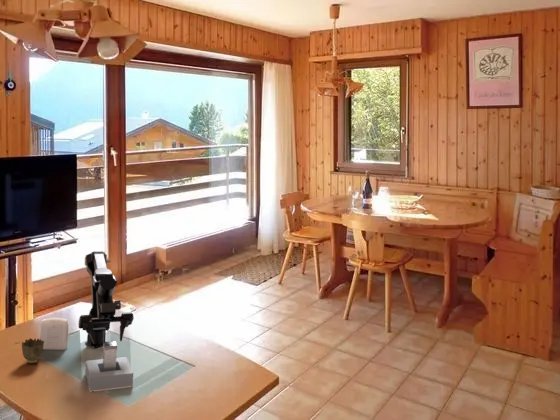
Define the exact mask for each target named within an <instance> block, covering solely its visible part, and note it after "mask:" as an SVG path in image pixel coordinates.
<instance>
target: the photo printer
mask: <svg viewBox="0 0 560 420" xmlns="http://www.w3.org/2000/svg"><path fill="white" fill-rule="evenodd" d="M39 331H40V333H39V339H41V340H42V341H44V345H43V350H56V351H57V350H67V349H68V343H69V320H68V319H65V318H63V317H62V318H61V317H48V318H44V319H42V320H41V323H40V330H39Z"/></svg>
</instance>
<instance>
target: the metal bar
mask: <svg viewBox="0 0 560 420" xmlns="http://www.w3.org/2000/svg"><path fill="white" fill-rule="evenodd" d="M117 344H118V343H117V341H116V340H114V341H106V342H103V345H102V346H103V347H102V349H103V350H102V359H103V365H102V372H106V371H116V358H117V351H118V345H117Z"/></svg>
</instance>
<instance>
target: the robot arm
mask: <svg viewBox="0 0 560 420" xmlns="http://www.w3.org/2000/svg"><path fill="white" fill-rule="evenodd" d="M107 257H108V256H107V254H106V253H105V251H103V250H99V251H97V250H94V251H92V252H90V253H88V254H86V255H85V256H84V266H86V272H87V273H88V274H89V276H90V289H91V291H90V292H91V309H90V310H89V313H88V314H82V315H80V316H79V318H78V323H77V324H78V329H82V331H85V332H86V334H87V338H86V339H87V340H86V342H84V344H85V345H88V347H92V348H94V349H96V348H99V347H102V346H103V342H107V341H106V335H107V334H106V331H109V329H111V323H118V322H119V323H120V325H119V341H120V342H121V343H122V340H123V337H124V332H125V330H126V328H129V326H131V325H132V324H133V321H134V313H133V312H131V311H130V312H121V315H120V316H119V315H118V316H117V315H116V313H117V312H116V310H119V311H120V310H121V308H122V306H121V305H122V304H121V302H122V301H121V300H114V298H113V295H114V292H115V290H116V286H117V284H118V280H117V278H116V277H115V275H114V274H113V272H112V270H111V269H109V268H108V266H107V264H108V258H107ZM115 315H116V316H115Z"/></svg>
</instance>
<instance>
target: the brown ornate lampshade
mask: <svg viewBox="0 0 560 420" xmlns="http://www.w3.org/2000/svg"><path fill="white" fill-rule="evenodd" d="M36 339H37V340H36ZM24 341H25V342H24ZM24 341H22V342H21V348H22V349H21V350H22V355H23V358H24V359H25V360H26V363H27V364H29V365H34V364H37V363H38V361H39V358H41V356H42V354H43V351H44V349H43V345H44V341H42V340H41V339H40V338H34V339H33V338H29V339H25V340H24Z"/></svg>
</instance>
